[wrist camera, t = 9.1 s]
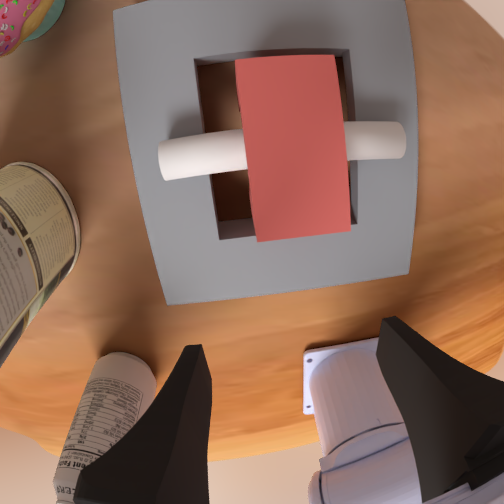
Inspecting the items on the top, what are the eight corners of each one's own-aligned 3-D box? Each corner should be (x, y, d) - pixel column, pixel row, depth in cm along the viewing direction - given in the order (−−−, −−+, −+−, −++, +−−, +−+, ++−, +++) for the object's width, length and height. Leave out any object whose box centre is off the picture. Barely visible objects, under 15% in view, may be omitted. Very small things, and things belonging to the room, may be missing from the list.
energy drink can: (98, 381, 27) (58, 512, 13) (96, 339, 24) (37, 490, 11) (155, 396, 28) (133, 535, 14) (161, 357, 25) (130, 521, 12)
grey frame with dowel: (390, 254, 22) (422, 289, 18) (174, 281, 22) (161, 325, 18) (382, 6, 14) (420, -14, 10) (129, 22, 14) (98, 1, 10)
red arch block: (317, 205, 19) (350, 231, 13) (251, 212, 19) (257, 242, 13) (305, 82, 16) (334, 54, 11) (236, 87, 16) (234, 59, 11)
